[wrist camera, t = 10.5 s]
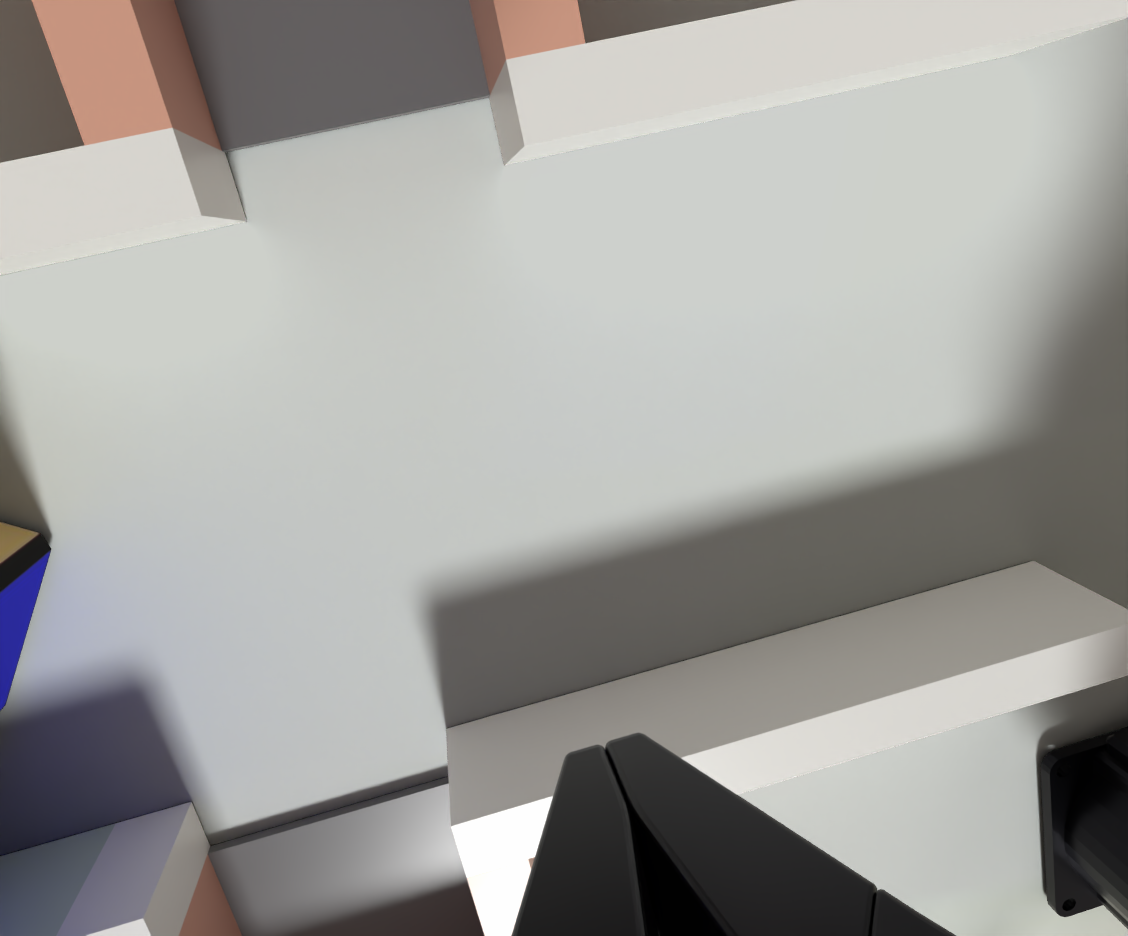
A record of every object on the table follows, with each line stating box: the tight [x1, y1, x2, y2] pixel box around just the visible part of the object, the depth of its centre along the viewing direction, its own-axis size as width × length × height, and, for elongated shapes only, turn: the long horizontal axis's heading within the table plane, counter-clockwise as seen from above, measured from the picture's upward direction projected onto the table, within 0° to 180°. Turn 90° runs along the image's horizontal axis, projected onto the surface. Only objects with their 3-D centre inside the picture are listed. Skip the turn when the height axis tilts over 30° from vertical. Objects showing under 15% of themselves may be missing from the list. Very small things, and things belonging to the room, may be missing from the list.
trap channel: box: [0, 0, 1128, 936], centre depth 18 cm, size 33×46×4 cm
